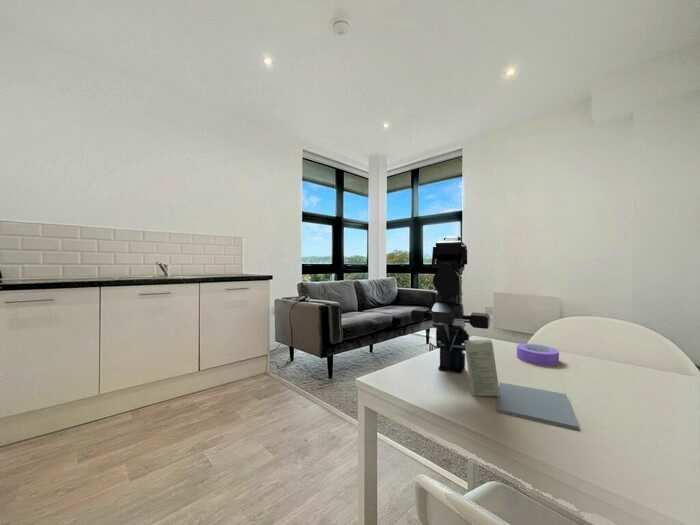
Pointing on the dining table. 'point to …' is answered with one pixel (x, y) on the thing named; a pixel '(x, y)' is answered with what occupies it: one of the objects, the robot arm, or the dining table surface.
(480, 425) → the dining table surface
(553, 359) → the masking tape
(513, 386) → the mat
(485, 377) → the skincare box
